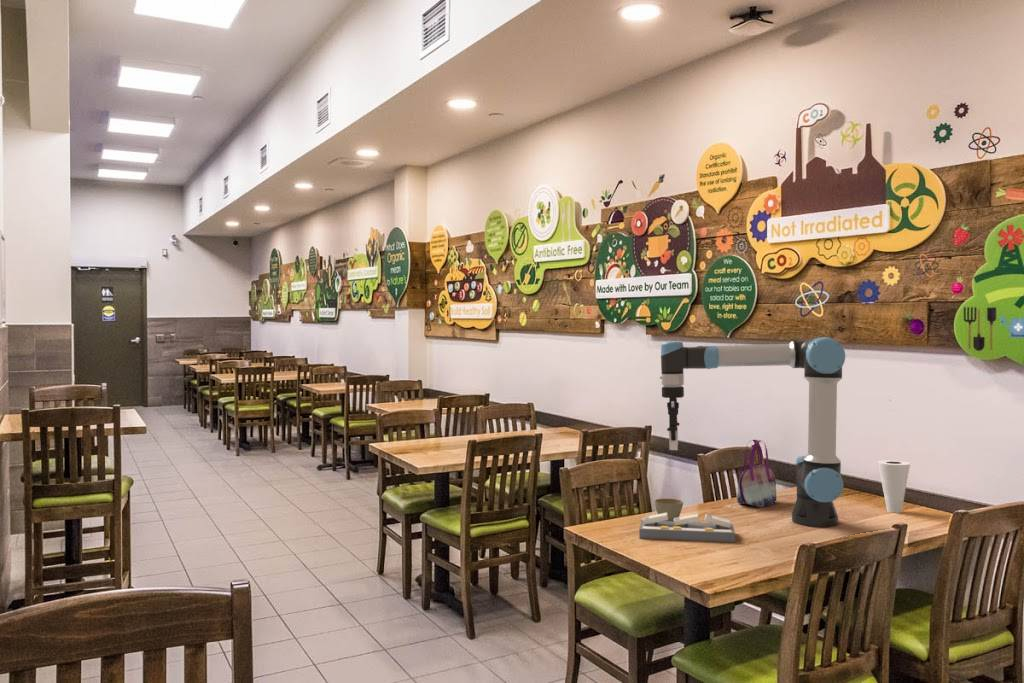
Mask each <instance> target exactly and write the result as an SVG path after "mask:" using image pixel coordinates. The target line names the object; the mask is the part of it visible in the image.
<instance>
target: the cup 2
mask: <svg viewBox="0 0 1024 683" xmlns="http://www.w3.org/2000/svg"><path fill="white" fill-rule="evenodd" d="M877 465H878V470H879V476H880V481H881V486H882V491H883V495H884V502H885V506H886V511H887V512H888V513H894V514H901V513H903V512H902V511H903V505H904V500H905V495H906V489H907V483H908V479H909V473H910V467H911V466H910V465H911V462H908V461H903V460H895V459H894V460H888V459H887V460H878V461H877Z"/></svg>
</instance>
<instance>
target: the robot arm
mask: <svg viewBox="0 0 1024 683" xmlns="http://www.w3.org/2000/svg"><path fill="white" fill-rule="evenodd" d="M683 343H684V342H683V341H664V342H662V343H661V345H660V346H661V348H660V367H661V368H660V369H661V371H660V372H661V376H660V377H659V379H660V380H661V385H662V387H661V397H662V398H665V399H667V398H668V400H669V402H666V406H667V407H666V408H667V414H668V415H669V416H668V418H669V420H668V422H669V423H668V424H669V425H668V426H669V427H666V428H667V430H666V431H667V432H668V437H669V438H668V439H669V440H668V442H669V444H668V445H669V446H668V447H669V448H668V449H669V451H679V449H678V446H679V431H678V430H679V429H678V428H679V426H680V422H679V421H678V415H679V407H680V406H679V405H680V403H679V402H678V399H681V398H683V397H684V396H685V391H684V390H685V388H684V385H685V382H684V381H685V379H684V378H685V375H684V370H685V369H687V370H689V369H690V370H692V369H696V370H697V369H698V370H699V369H701V370H706V369H707V370H711V369H717V368H719V367H720V368H722V367H725V368H726V367H727V368H728V367H766V366H767V367H772V366H773V367H774V366H789V367H791V368H792V369H804V372H803V373H804V376H803V378H804V379H805V380H806V381H808V427H807V428H808V429H807V430H808V432H807V433H808V434H807V435H808V436H807V454H805V455H803V456H802V455H800V456H798V457H797V458H796V461H795V467H796V468H795V469H796V470H795V471H796V500H795V503H794V506H793V509H792V513H791V521H792V522H793V523H796V524H798V525H802V526H803V525H804V526H807V527H808V526H809V527H817V528H818V527H823V528H824V527H834V526H838V524H839V516H838V513H837V510H836V507H835V504H834V501H836V499H838V498H839V497H840V496H841V495H842V492H843V490H844V479H843V478H842V475H841V474H842V472H841V469H842V466H841V465H842V462H841V459H840V458H838V457H837V408H838V406H837V405H838V404H837V402H838V397H837V396H838V383H839V382H840V381H841V380H842V379H843V366H844V365H845V362H846V361H845V360H846V351H845V348H844V347H843V345H842V344H841V343H840V342H839V341H837V340H836V339H834V338H831V337H829V336H822V337H819V336H817V337H812V338H808V339H801V340H791V341H790V342H789V343H775V344H774V343H771V344H742V345H741V344H737V345H736V344H735V345H708V346H707V345H706V346H705V345H697V346H688V347H687V346H684V344H683ZM684 398H685V397H684Z"/></svg>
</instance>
